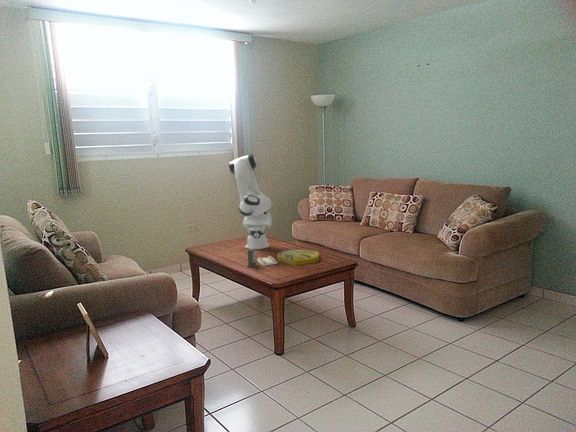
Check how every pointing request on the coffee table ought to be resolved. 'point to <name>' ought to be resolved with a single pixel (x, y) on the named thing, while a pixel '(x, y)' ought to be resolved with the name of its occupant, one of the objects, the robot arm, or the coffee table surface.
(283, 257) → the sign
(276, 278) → the coffee table surface
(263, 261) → the display stand
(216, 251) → the coffee table surface
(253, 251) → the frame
